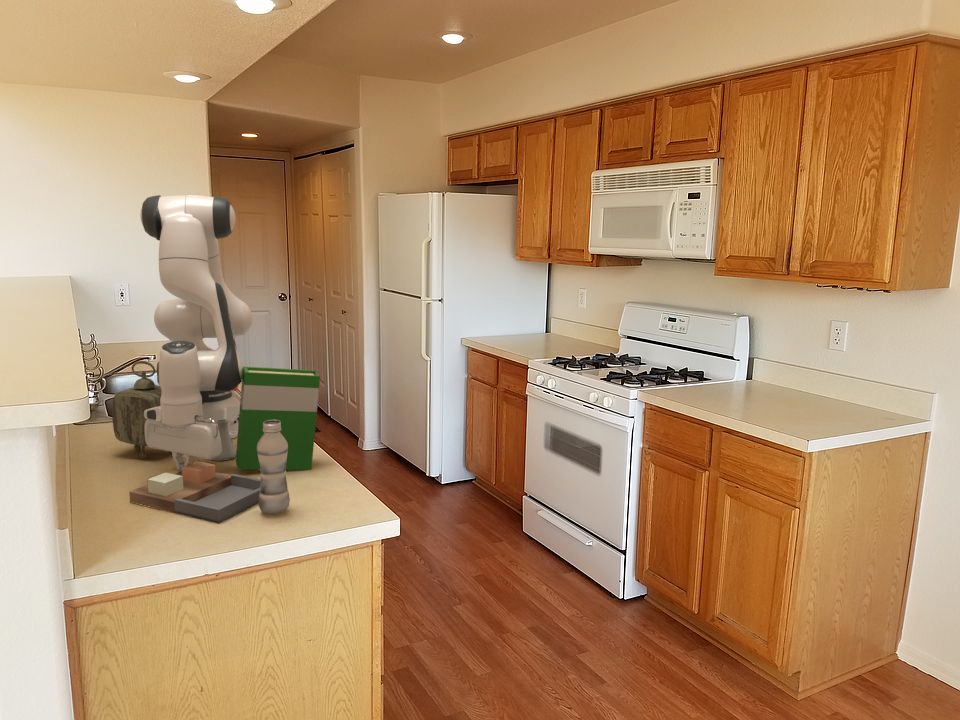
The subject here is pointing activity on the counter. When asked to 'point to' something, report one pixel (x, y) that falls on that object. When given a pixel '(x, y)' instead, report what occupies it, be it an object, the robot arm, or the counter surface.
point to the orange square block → (198, 472)
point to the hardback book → (278, 413)
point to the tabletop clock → (135, 409)
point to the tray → (223, 501)
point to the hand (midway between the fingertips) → (184, 470)
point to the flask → (225, 441)
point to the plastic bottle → (273, 469)
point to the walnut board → (180, 492)
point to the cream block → (165, 484)
